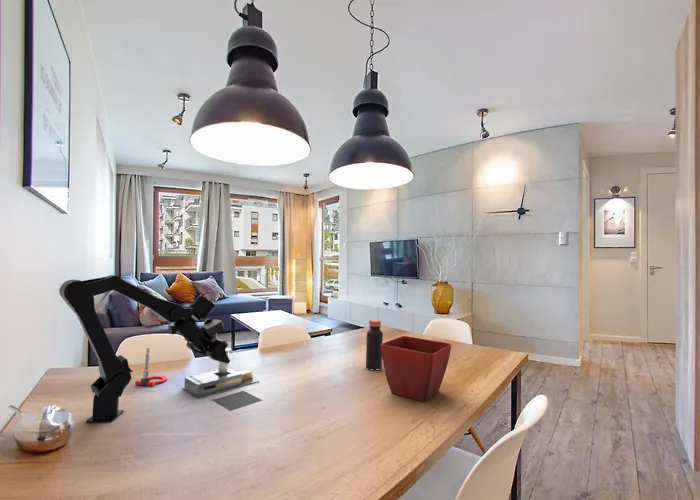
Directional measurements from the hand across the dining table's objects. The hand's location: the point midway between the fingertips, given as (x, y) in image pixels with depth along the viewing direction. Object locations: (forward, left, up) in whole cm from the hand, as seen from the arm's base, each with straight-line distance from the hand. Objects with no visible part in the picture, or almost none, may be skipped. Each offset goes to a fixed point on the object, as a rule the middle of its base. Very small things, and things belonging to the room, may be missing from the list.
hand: (222, 359), depth 120 cm
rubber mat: (-13, -8, -9) cm, 18 cm away
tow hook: (+5, +25, -10) cm, 27 cm away
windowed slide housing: (0, 0, -9) cm, 9 cm away
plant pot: (-7, -67, -10) cm, 68 cm away
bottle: (+20, -57, -9) cm, 61 cm away
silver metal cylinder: (0, 0, -8) cm, 8 cm away
